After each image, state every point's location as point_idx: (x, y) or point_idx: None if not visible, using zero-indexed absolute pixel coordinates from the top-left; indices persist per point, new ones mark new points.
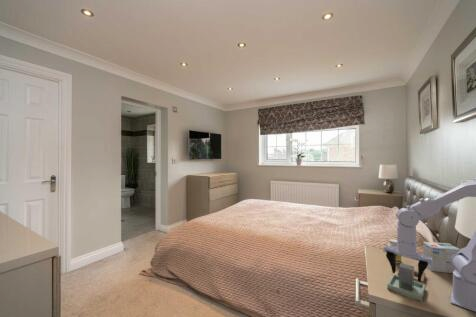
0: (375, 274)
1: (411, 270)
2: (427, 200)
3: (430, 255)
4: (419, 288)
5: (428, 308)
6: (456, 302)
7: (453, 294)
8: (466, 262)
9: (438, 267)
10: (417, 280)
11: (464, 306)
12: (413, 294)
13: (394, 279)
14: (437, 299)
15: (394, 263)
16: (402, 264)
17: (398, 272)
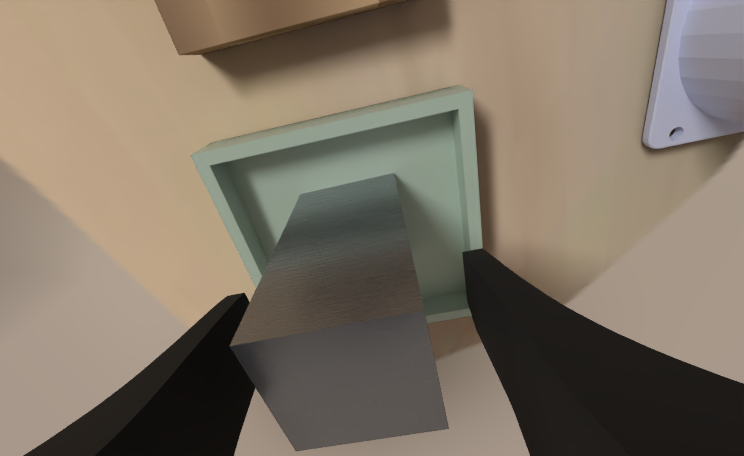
0: (108, 213)
1: (436, 426)
2: None
3: None
4: (431, 153)
5: None
6: (690, 118)
7: (721, 74)
8: None
9: None
10: (375, 6)
11: (736, 128)
12: (439, 317)
13: (242, 186)
14: (553, 171)
15: (207, 423)
16: (282, 380)
17: (174, 35)
